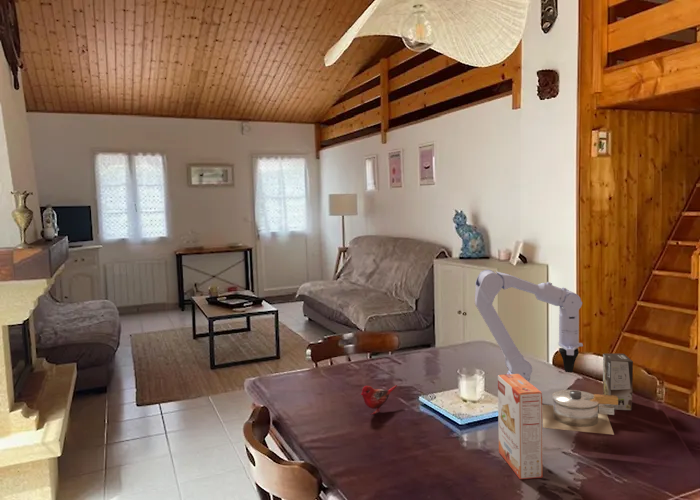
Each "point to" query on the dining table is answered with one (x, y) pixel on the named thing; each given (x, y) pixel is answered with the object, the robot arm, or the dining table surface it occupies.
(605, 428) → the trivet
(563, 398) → the lid with handle
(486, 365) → the dining table surface
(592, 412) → the pot
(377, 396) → the decorative bird figurine
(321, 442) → the dining table surface
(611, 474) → the dining table surface
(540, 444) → the cracker box
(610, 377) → the coffee box
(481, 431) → the dining table surface
